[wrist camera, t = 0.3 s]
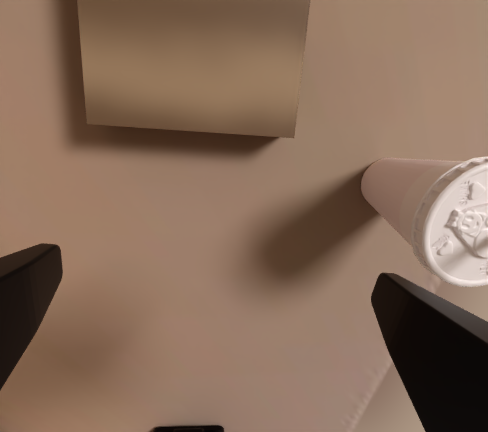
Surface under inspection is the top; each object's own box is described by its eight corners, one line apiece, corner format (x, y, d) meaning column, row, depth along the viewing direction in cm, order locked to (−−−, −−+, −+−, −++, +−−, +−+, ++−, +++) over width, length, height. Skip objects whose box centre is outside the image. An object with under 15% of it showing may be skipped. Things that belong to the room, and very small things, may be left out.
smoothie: (404, 231, 25) (609, 364, 12) (330, 212, 24) (466, 335, 11) (440, 152, 24) (726, 207, 10) (362, 127, 23) (569, 156, 9)
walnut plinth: (284, 134, 22) (294, 138, 19) (104, 121, 21) (86, 124, 18) (307, -80, 19) (323, -114, 16) (89, -110, 17) (65, -153, 14)
